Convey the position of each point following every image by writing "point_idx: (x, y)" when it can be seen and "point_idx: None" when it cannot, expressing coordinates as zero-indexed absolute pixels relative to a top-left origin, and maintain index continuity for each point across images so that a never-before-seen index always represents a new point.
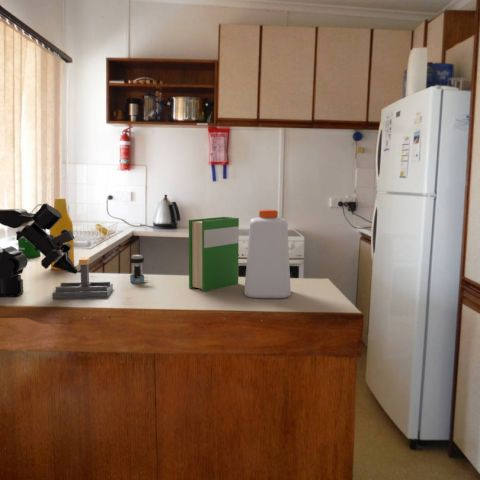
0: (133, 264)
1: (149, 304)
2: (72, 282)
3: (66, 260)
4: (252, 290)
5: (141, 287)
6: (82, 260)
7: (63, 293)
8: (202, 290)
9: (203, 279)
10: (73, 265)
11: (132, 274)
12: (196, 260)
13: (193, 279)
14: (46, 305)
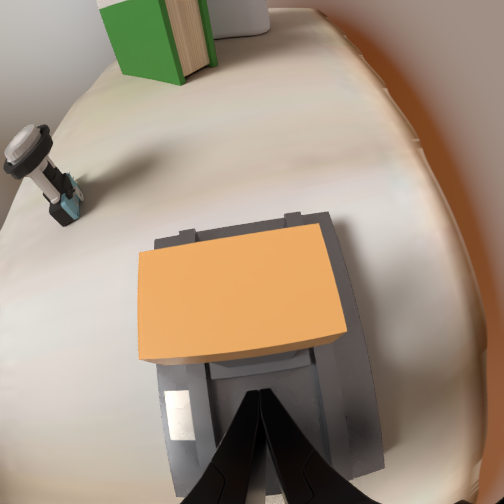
0: (38, 169)
1: (361, 114)
2: (203, 439)
3: (363, 495)
4: (268, 21)
5: (145, 170)
6: (334, 283)
7: (377, 418)
8: (213, 65)
9: (212, 42)
10: (256, 436)
11: (59, 198)
12: (179, 16)
13: (180, 61)
14: (464, 416)
